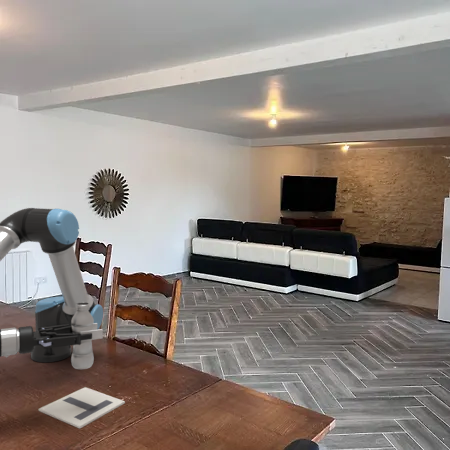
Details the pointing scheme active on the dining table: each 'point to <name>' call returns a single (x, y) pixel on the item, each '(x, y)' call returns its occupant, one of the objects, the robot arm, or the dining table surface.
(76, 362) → the plastic bottle
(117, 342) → the dining table surface
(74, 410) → the letter board
